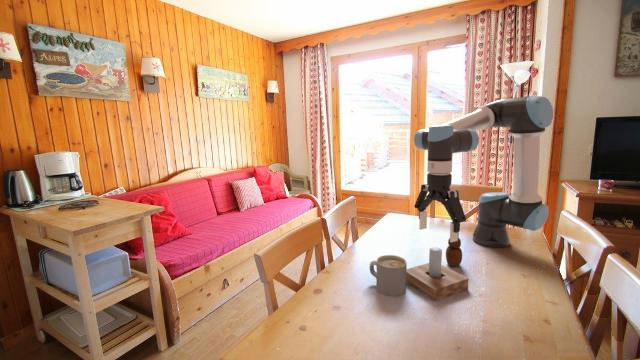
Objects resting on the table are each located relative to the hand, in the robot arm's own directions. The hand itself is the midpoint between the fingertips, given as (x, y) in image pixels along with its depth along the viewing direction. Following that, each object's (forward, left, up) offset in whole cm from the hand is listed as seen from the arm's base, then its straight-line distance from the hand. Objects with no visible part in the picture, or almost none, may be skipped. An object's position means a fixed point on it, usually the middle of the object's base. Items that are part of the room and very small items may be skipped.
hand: (437, 234), depth 106 cm
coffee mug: (+15, -7, -19) cm, 25 cm away
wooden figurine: (-18, -8, -19) cm, 27 cm away
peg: (0, 0, -17) cm, 17 cm away
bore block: (0, 0, -18) cm, 18 cm away
